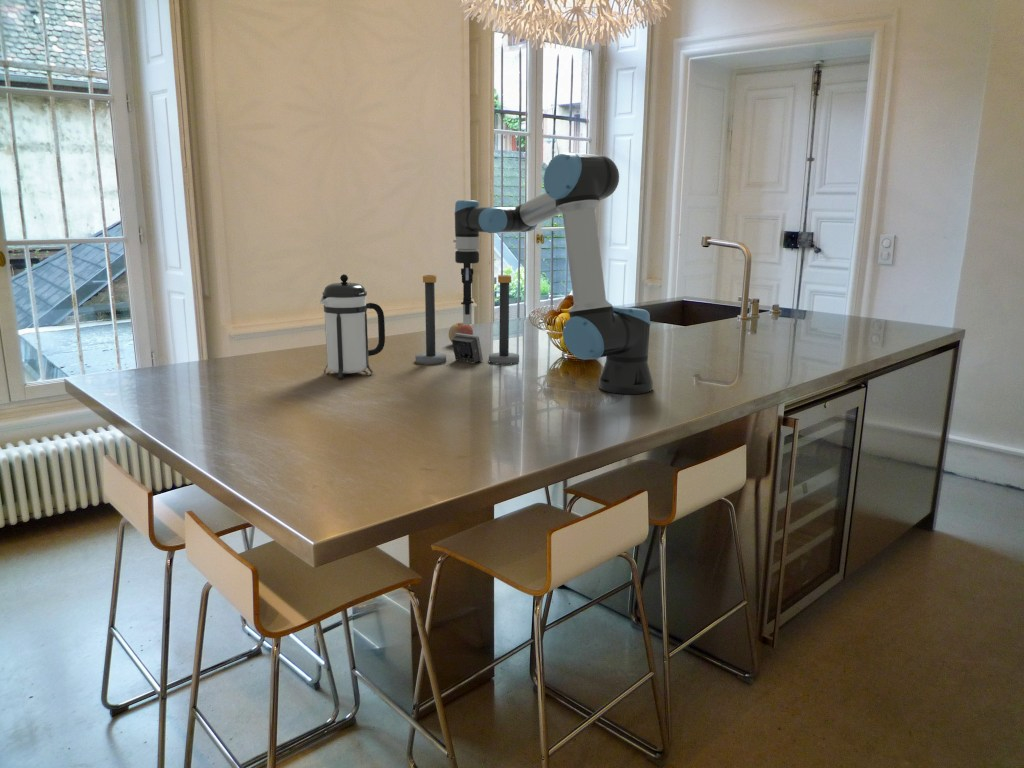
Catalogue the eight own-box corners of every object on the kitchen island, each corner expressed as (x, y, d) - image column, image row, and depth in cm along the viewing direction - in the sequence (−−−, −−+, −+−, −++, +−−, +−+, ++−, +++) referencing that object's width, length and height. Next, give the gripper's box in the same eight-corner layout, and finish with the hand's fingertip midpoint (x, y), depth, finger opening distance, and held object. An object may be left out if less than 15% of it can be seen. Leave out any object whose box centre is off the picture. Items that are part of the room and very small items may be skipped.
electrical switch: (483, 362, 249) (481, 334, 246) (474, 366, 244) (472, 338, 242) (460, 358, 253) (458, 331, 251) (451, 362, 249) (449, 335, 246)
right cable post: (520, 364, 245) (521, 277, 238) (489, 364, 244) (489, 277, 238) (518, 358, 254) (519, 274, 248) (488, 358, 254) (488, 274, 247)
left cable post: (445, 364, 243) (444, 277, 237) (414, 364, 243) (412, 277, 236) (446, 358, 253) (445, 274, 246) (416, 358, 253) (414, 273, 246)
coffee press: (365, 381, 220) (361, 277, 213) (314, 378, 223) (308, 276, 216) (386, 368, 237) (383, 272, 230) (338, 366, 240) (334, 270, 233)
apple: (474, 343, 280) (474, 321, 278) (470, 347, 271) (470, 325, 270) (451, 342, 281) (450, 321, 279) (446, 347, 272) (446, 325, 270)
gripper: (455, 248, 246) (456, 320, 252) (454, 251, 234) (455, 327, 239) (478, 249, 247) (478, 320, 252) (479, 251, 234) (479, 327, 240)
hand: (467, 324), depth 246 cm, fingers closed
